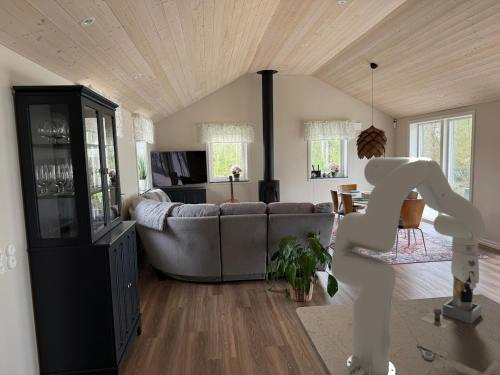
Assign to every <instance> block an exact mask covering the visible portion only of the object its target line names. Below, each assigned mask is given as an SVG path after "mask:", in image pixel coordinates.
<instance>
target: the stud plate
mask: <svg viewBox="0 0 500 375" xmlns="http://www.w3.org/2000/svg"><path fill="white" fill-rule="evenodd" d="M442 314H443V311H442V310H441V308H439V307H435V308H434V309H433V312H431V311H429V313H427V314H425V315H424V316H423V317H422V318H421V317H420V319H419V320H420V321H423V322H426V323H429V324H432V325H434V326H437V327H440V328H443V329H446V328H447V327H449V326H450V325H451V324H452V323H453V322H455V320H456V319H453V318H449V317H446V316H444V315H443V316H442Z"/></svg>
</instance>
